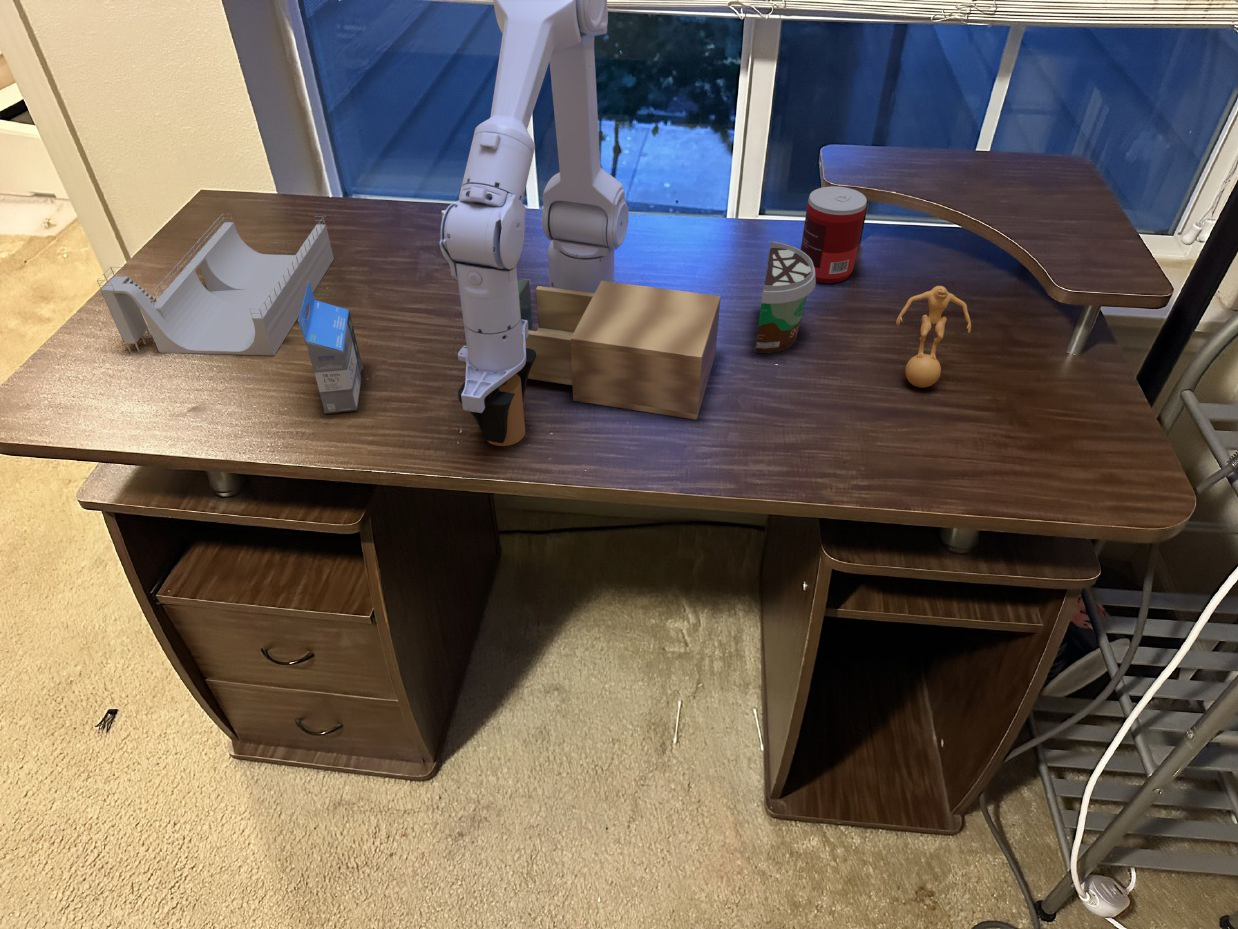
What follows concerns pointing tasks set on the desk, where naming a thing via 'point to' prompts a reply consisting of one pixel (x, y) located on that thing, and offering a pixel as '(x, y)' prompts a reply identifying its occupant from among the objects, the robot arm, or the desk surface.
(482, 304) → the robot arm
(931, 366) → the figurine
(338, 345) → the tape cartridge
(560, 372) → the drawer
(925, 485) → the desk surface
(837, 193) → the canned food
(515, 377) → the paper roll
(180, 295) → the skate ramp
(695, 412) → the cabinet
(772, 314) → the food container
